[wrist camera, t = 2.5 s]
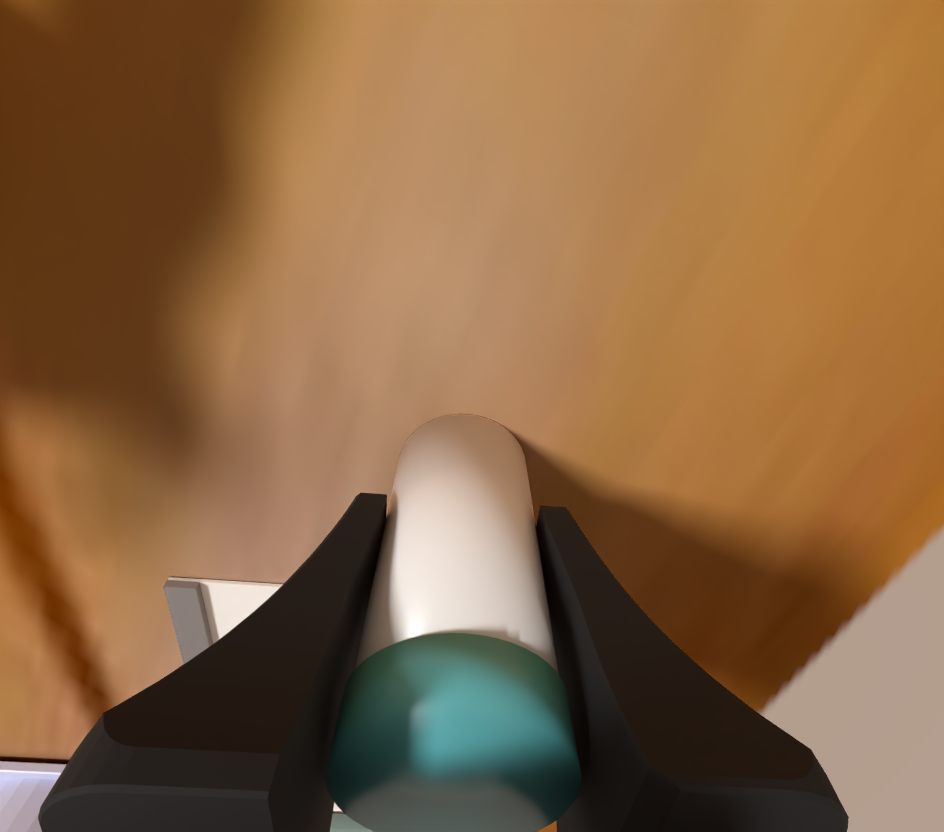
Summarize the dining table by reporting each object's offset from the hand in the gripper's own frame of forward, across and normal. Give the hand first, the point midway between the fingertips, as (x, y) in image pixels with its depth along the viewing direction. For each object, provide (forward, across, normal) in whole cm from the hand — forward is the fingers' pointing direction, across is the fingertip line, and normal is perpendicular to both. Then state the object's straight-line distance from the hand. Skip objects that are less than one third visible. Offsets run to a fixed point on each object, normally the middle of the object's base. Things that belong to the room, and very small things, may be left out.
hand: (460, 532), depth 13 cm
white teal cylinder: (+3, 0, 0) cm, 3 cm away
